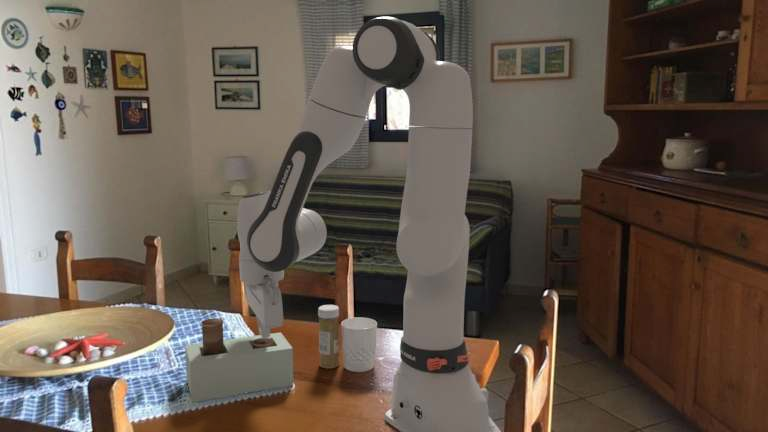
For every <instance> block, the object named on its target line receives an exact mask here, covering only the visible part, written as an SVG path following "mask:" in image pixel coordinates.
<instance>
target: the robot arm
mask: <svg viewBox="0 0 768 432" xmlns="http://www.w3.org/2000/svg"><path fill="white" fill-rule="evenodd" d="M383 87H385V88H393V89H394V90H395V89H396V90H398V91H399V90H401V91H402V90H403V91H404V93H405V94H406V96H407V98H408V102H409V115H408V116H409V120H408V126H409V127H408V143H407V165H406V176H405V177H406V178H405V181H404V182H405V183H404V189H403V193H402V202H401V207H400V216H399V222H398V223H399V224H398V233H397V239H396V244H395V246H396V247H395V248H396V255H397V258H398V260H399V262H400V263H401V265H402V266H403V268H405V270H407V277H406V284H405V290H404V295H403V315H402V316H403V320H402V321H403V322H402V323H403V325H402V326H403V329H402V331H403V332H402V337H401V338H400V346H399V351H400V352H399V353H400V356H399V357H400V359H401V362H400V364H399V367H398V368H397V370H396V371H395V374H394V375H393V381H392V382H393V384H392V391H391V392H392V394H391V403H390V404H391V405H390V409H388V410H387V411H386V412H385V414H384V421H386V422H387V423H388V424H390V425H391V426H392V427H393V428H395V429H397V430H398V431H399V432H502V431H501V430H500V428H499V427H498V426H497V424H496V423H495V422H494V420H493V419H492V418H491V417H490V416H489V414H490V413H489V412H490V411H489V404H488V401H489V391H488V390H487V388H485V387H482V388H481V387H480V385H479V383H478V382H477V377H476V375H475V374H474V373H473V372H472V371H471V369H470V366H469V361H471V359H469V357H471V355H470V354H468V348H467V345H466V340H465V339H464V327H465V326H464V324H465V319H464V318H465V298H466V286H467V278H468V276H467V275H468V274H467V273H468V265H469V250H470V237H471V236H470V233H471V232H470V231H471V228H470V227H471V226H470V223H469V220H468V217H467V216H466V214H465V213H466V206H467V205H466V204H467V198H468V197H467V196H468V187H469V181H470V177H471V176H470V175H471V160H472V159H471V158H472V142H473V126H474V125H473V124H474V112H473V111H474V107H473V106H474V105H473V93H472V92H473V91H472V84H471V79H470V75H469V73H468V71H467V70H466V69H465V68H463V66H460V65H459V64H457V63H454V62H452V61H442V60H441V59H440V51H439V49H438V45H437V43H436V42H435V40H434V39H433V38H432V36H431V35H429V34H428V33H427V32H425V31H423V30H421V29H420V28H419V27H417V26H416V25H414V24H413V23H411V22H408V21H405V20H402V19H401V20H400V19H398V18H397V17H393V16H379V17H375V18H372V19H370V20H368V21H366V22H365V23H364V24H363V25H362V26H361V27H360V28H359V29H358V31H357V32H356V34H355V36H354V39H353V42H352V46H349V45H341V46H336V47H333V48H332V49H331V50H330V51H329V52H328V53H327V54H326V56H325V58H324V60H323V62H322V64H321V65H320V68H319V70H318V72H317V75H316V77H315V79H314V82H313V85H312V88H311V91H310V93H309V97H308V100H307V104H306V107H305V110H304V112H303V114H302V115H303V116H302V118H301V122H300V124H299V126H298V128H297V130H296V133H295V134H294V137H293V139H292V141H291V142H290V145H289V147H288V148H287V151H286V153H285V155H284V158H283V160H282V162H281V165H280V167H279V170H278V173H277V175H276V177H275V180H274V182H273V186H272V188H271V190H267V191H261V192H257V193H251V194H247V195H244V196H242V198H241V199H240V200H239V203H238V207H237V208H238V209H237V220H236V221H237V238H238V241H239V244H240V245H239V247H240V248H239V249H240V250H239V254H238V270H239V280H240V282H241V283H243V290H244V296H245V301H246V303H247V304H248V305H249V307H250V309H251V311H253V313H254V314H255V316H256V320H257V321H256V322H257V326H258V333H259V335H261V336H262V338H268V337H270V334H271V329H273V328H274V329H275V328H280V327H283V324H284V312H283V311H284V310H283V298H282V292H281V290H280V289H281V288H280V287H279V281H282V280H283V279H284V278H285V270H286V269H287V268H289V267H291V266H292V265H293V264H295V263H298V262H300V261H301V260H304V259H306V258H308V257H309V256H312V255H314V254H316V253H317V252H318V251H320V250H321V249H322V248H323V247H324V246H325V244H326V243H327V238H328V228H327V224H326V222H325V220H324V218H323V217H322V216H321V215H320V214H319V213H318V212H317V211H315V210H313V209H310V208H305V203H306V200H307V199H308V196H309V193H310V190H311V188H312V186H313V183H314V181H315V180H316V178H317V177H318V176H319V174H320V173H321V172H322V171H323V170H324V169H326V167H328V165H330V164H331V163H333V162H334V161H336V160H337V159H339V158H340V157H342V156H344V155H346V153H349V151H350V150H351V149H353V148H354V145H355V143H356V142H357V140H358V138H359V136H360V134H361V132H362V130H363V127H364V125H365V122H366V118H367V116H368V111H369V108H370V105H371V102H372V100H373V98H374V96H375V94H376V92H377V91H378V90H380V89H381V88H383Z"/></svg>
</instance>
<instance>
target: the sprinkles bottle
mask: <svg viewBox="0 0 768 432" xmlns="http://www.w3.org/2000/svg"><path fill="white" fill-rule="evenodd" d="M317 309H318V310H317V315H318V327H319V328H318V352H319V361H318V365H319V367H321V368H323V369H334V368H338V367H339V365H340V361H339V356H340V352H339V351H340V343H339V333H340V332H339V316H340V308H339V306H338V305H335V304H323V305H320V306H319V307H318V308H317Z"/></svg>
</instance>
